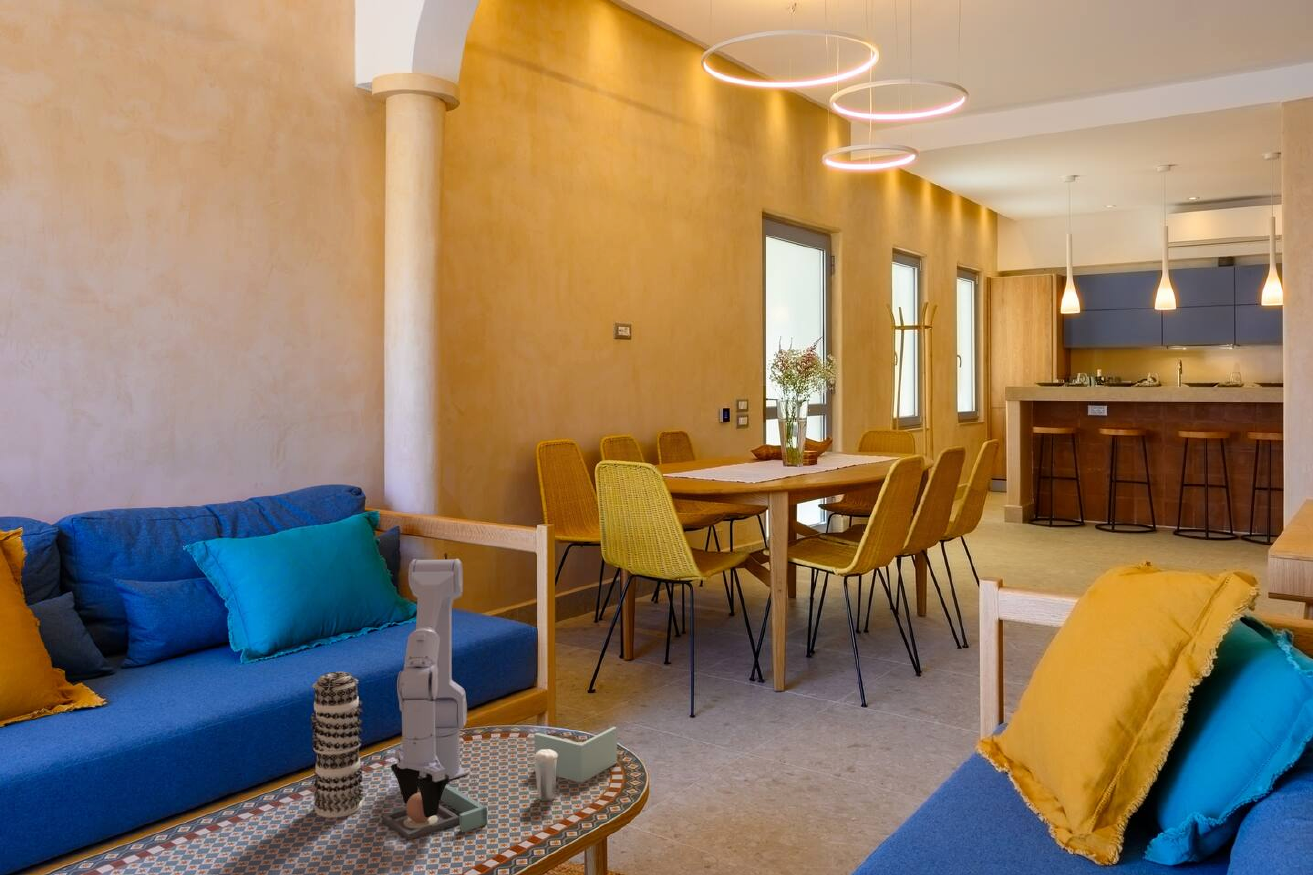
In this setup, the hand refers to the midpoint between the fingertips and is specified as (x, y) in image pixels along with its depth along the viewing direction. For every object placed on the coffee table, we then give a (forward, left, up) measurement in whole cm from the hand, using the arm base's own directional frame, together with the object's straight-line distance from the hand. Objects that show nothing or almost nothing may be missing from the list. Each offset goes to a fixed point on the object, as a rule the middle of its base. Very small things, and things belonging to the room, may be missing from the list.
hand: (420, 808), depth 177 cm
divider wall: (0, +6, -3) cm, 7 cm away
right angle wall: (-2, +36, -3) cm, 36 cm away
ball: (0, 0, -2) cm, 2 cm away
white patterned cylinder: (-16, -8, -3) cm, 18 cm away
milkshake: (+7, +23, -3) cm, 24 cm away
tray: (0, 0, -3) cm, 3 cm away
